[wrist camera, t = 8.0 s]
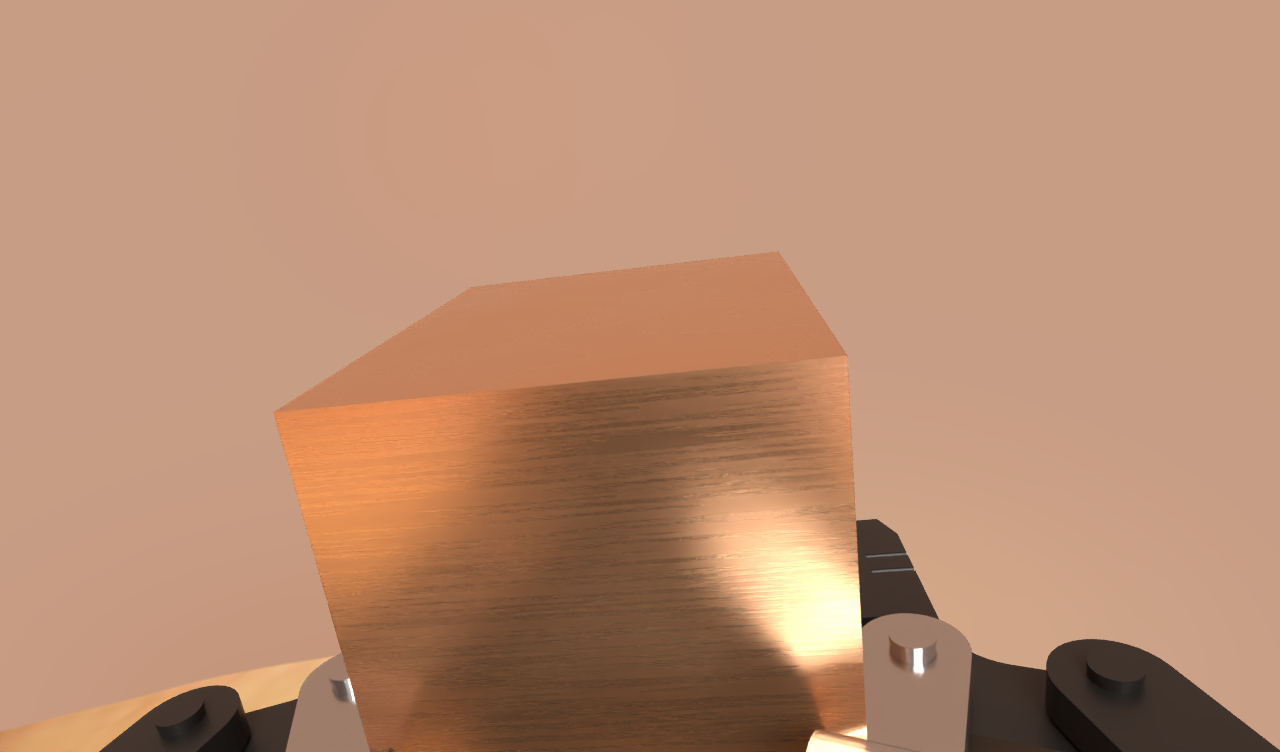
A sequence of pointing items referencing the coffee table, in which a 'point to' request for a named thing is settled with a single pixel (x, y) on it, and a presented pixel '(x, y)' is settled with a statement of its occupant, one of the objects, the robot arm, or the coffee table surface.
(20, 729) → the coffee table surface
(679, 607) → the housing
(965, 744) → the robot arm
